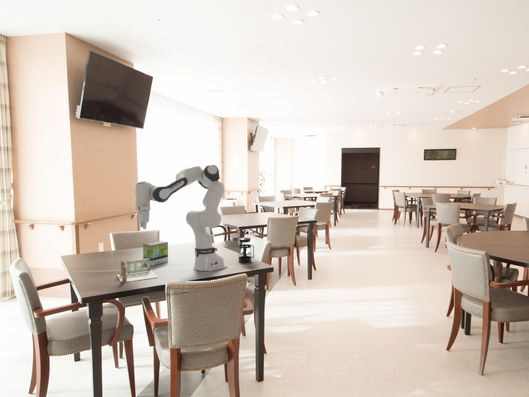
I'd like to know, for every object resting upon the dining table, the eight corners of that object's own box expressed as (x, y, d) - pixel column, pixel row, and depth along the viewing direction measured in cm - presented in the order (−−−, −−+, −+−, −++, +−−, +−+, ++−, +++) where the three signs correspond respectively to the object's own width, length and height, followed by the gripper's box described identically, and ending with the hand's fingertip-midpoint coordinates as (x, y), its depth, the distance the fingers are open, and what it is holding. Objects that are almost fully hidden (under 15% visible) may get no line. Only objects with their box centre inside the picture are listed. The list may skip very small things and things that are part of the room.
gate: (127, 274, 232) (127, 261, 232) (127, 273, 234) (126, 260, 233) (150, 271, 239) (150, 258, 239) (150, 270, 241) (149, 258, 240)
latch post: (127, 280, 221) (126, 265, 220) (128, 282, 217) (128, 267, 217) (120, 281, 219) (119, 266, 218) (121, 283, 215) (120, 268, 215)
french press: (237, 263, 260) (237, 231, 259) (237, 260, 269) (236, 229, 268) (254, 263, 262) (254, 230, 260) (253, 260, 271) (252, 228, 269)
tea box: (153, 266, 256) (152, 244, 256) (142, 264, 261) (142, 243, 260) (168, 261, 270) (168, 241, 269) (158, 260, 274) (158, 240, 274)
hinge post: (126, 274, 234) (125, 260, 234) (127, 275, 231) (126, 261, 230) (119, 275, 233) (118, 261, 232) (120, 276, 229) (119, 262, 228)
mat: (150, 270, 243) (150, 270, 243) (157, 277, 226) (157, 277, 226) (116, 275, 232) (116, 274, 232) (121, 283, 216) (121, 282, 216)
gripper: (135, 205, 245) (135, 226, 246) (140, 208, 227) (140, 230, 228) (145, 205, 248) (145, 226, 249) (150, 207, 230) (151, 229, 231)
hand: (143, 228), depth 238 cm, fingers open, 8 cm apart
